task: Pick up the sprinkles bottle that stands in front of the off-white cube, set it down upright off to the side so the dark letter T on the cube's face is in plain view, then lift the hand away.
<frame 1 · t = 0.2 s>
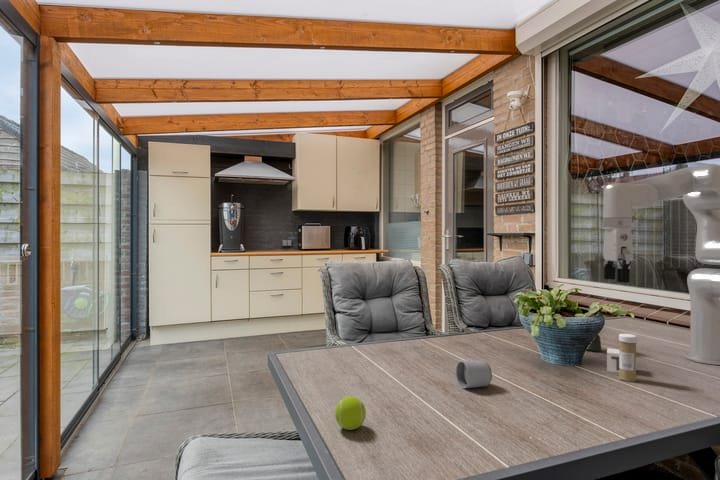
hand: (615, 280, 130), 30 cm above the table, tool pointing down, fingers open, 9 cm apart
ceramic mug: (470, 385, 125), on the table
sprinkles bottle: (627, 380, 129), on the table
lettered cube: (617, 370, 138), on the table
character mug: (591, 350, 161), on the table
tennis ball: (350, 429, 97), on the table
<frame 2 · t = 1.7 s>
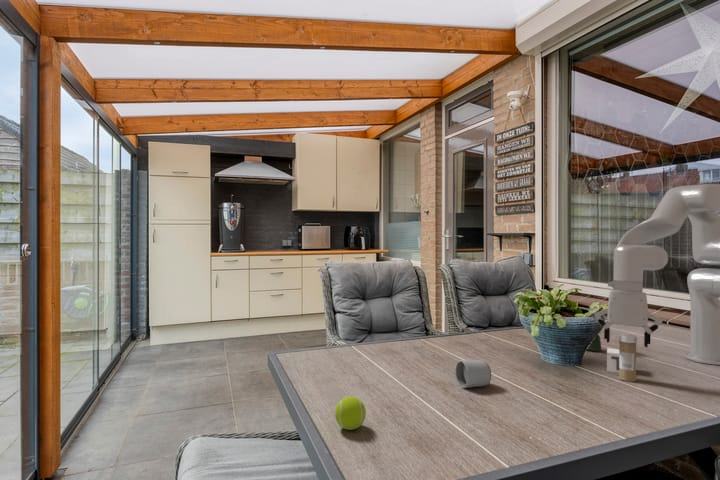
hand: (626, 343, 128), 11 cm above the table, tool pointing down, fingers open, 9 cm apart
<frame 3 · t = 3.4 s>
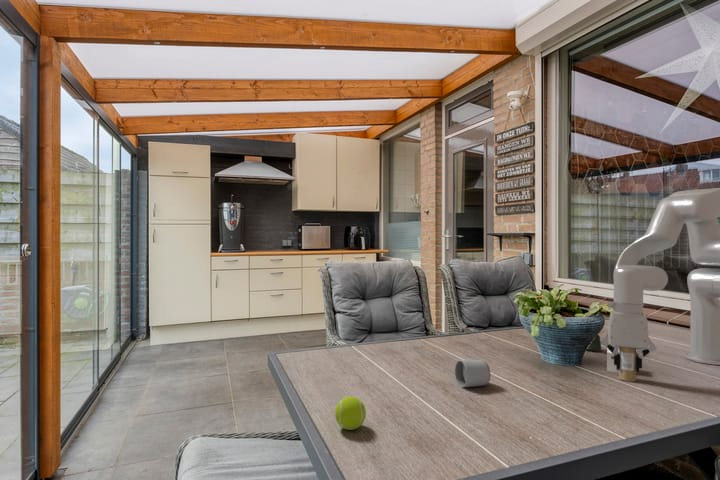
hand: (627, 368, 129), 3 cm above the table, tool pointing down, fingers closed on sprinkles bottle, 4 cm apart
sprinkles bottle: (627, 380, 129), on the table, touching gripper
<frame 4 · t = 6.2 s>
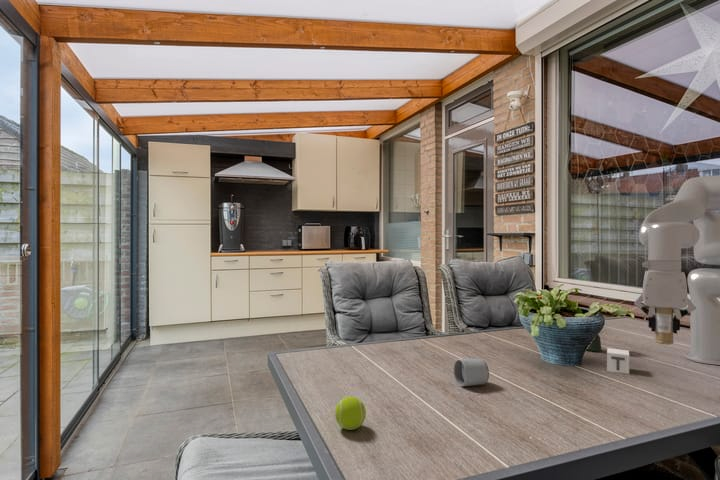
hand: (663, 330, 120), 17 cm above the table, tool pointing down, fingers closed on sprinkles bottle, 4 cm apart
sprinkles bottle: (663, 343, 120), point 13 cm above the table, touching gripper
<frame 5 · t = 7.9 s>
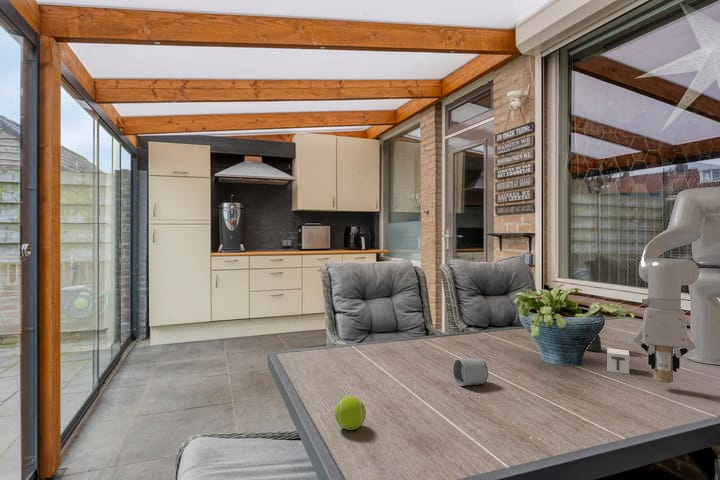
hand: (663, 368, 120), 6 cm above the table, tool pointing down, fingers closed on sprinkles bottle, 4 cm apart
sprinkles bottle: (663, 381, 120), point 2 cm above the table, touching gripper
when the fingers open (5 cm above the table, at t = 9.0 s): sprinkles bottle drops 1 cm, on the table.
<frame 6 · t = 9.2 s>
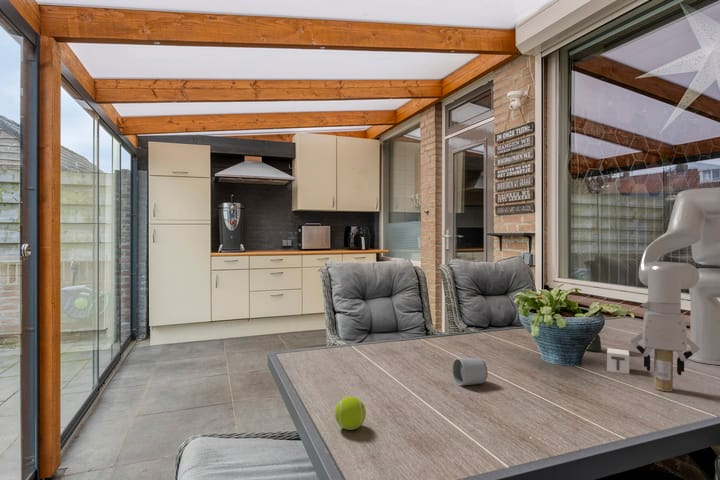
hand: (663, 371, 120), 5 cm above the table, tool pointing down, fingers open, 6 cm apart
sprinkles bottle: (663, 389, 121), on the table
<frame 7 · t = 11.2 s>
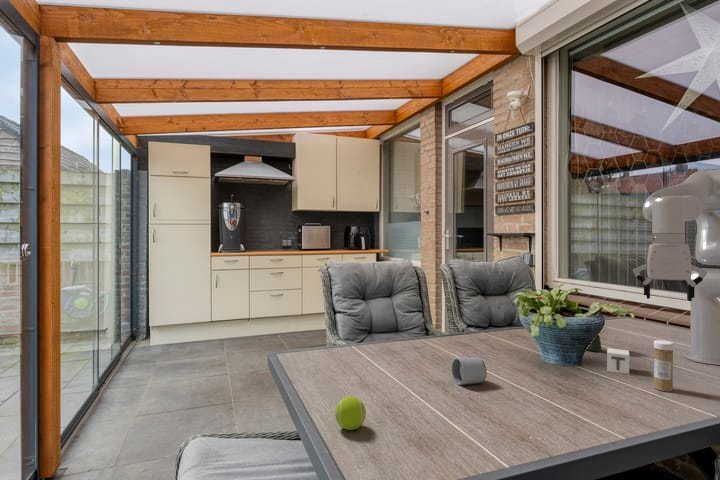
hand: (668, 299, 123), 25 cm above the table, tool pointing down, fingers open, 9 cm apart
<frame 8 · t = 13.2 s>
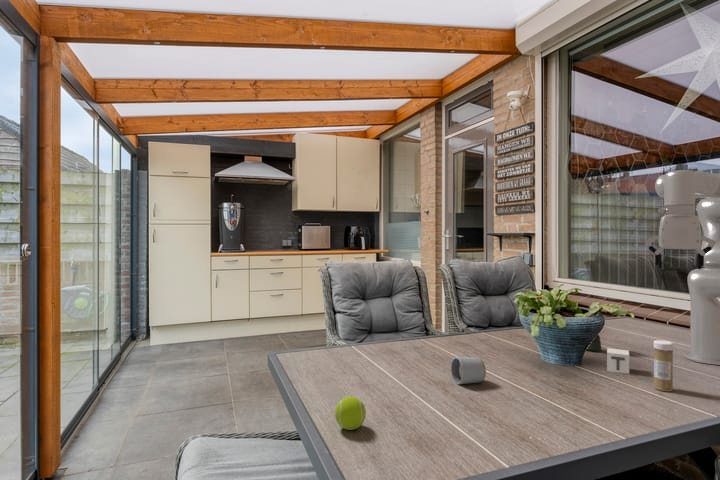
hand: (678, 268, 129), 33 cm above the table, tool pointing down, fingers open, 9 cm apart
at the end: sprinkles bottle inside the target area (0.1 cm from its centre), on the table; sprinkles bottle tilted 0°; lettered cube moved 0.1 cm from its start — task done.
